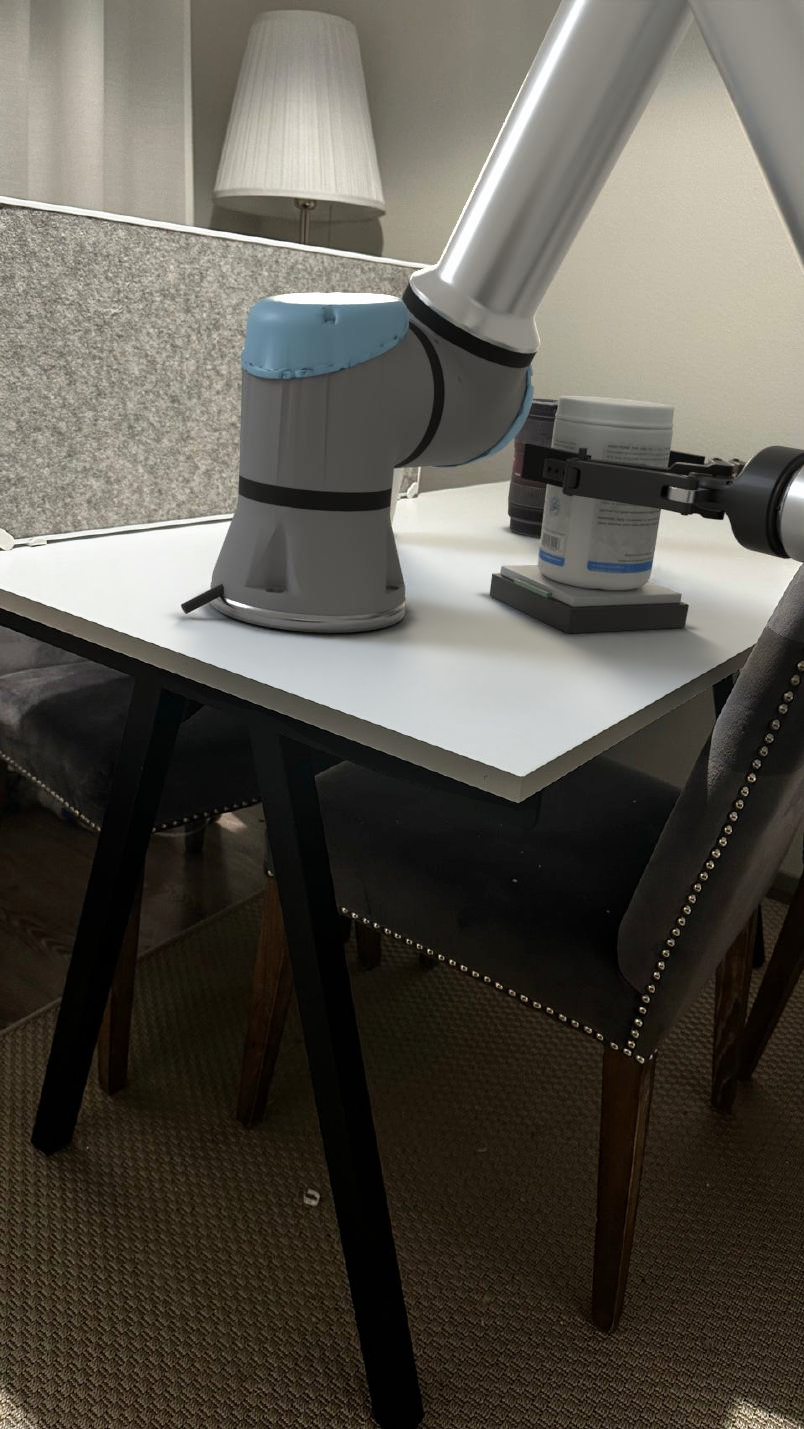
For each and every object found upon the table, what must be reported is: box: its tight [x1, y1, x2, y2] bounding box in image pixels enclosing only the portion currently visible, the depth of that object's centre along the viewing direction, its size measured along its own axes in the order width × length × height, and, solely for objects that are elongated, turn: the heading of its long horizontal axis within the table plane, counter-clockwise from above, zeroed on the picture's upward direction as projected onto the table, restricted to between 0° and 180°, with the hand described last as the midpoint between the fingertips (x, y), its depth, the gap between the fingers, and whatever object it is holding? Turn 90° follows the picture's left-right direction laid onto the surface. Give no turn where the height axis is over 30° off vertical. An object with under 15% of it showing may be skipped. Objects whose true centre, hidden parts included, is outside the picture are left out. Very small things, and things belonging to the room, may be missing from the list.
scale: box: [489, 564, 690, 634], centre depth 93 cm, size 12×12×3 cm
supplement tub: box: [537, 395, 675, 590], centre depth 90 cm, size 10×10×15 cm
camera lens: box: [507, 398, 559, 538], centre depth 126 cm, size 8×8×15 cm
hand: (585, 460), depth 91 cm, fingers open, 13 cm apart
